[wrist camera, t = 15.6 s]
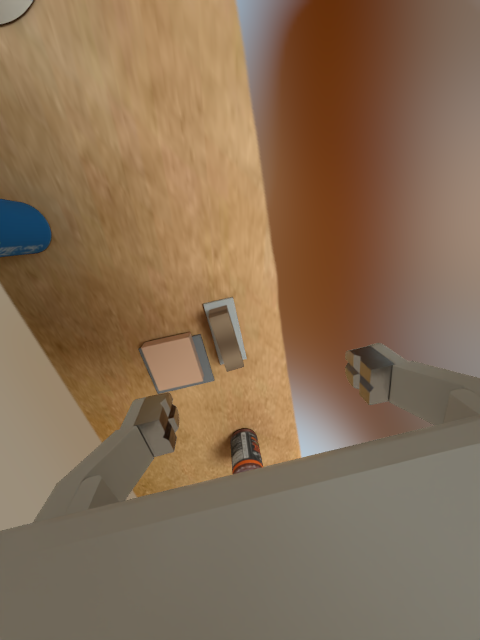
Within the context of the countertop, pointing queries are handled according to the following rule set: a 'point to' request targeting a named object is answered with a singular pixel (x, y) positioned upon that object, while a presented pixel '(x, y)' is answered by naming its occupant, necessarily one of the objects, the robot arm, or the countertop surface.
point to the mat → (202, 358)
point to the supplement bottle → (245, 451)
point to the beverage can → (22, 229)
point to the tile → (173, 361)
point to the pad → (234, 319)
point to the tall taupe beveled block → (226, 337)
